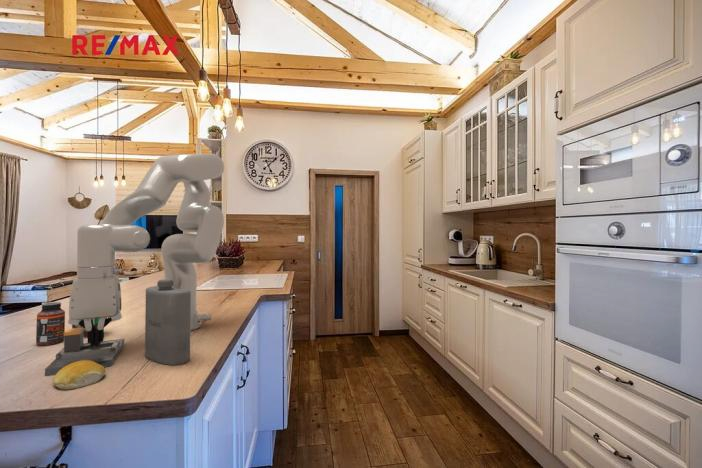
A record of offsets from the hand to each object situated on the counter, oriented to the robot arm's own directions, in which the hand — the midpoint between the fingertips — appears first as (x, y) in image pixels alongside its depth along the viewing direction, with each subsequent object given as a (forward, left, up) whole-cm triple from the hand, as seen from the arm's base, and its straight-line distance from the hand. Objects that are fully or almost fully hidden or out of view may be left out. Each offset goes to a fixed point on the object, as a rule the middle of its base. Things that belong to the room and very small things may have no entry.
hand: (95, 344), depth 81 cm
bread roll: (0, +14, -4) cm, 15 cm away
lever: (+4, 0, -1) cm, 5 cm away
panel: (+1, 0, -3) cm, 3 cm away
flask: (-16, +8, -3) cm, 18 cm away
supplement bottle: (+14, -19, -3) cm, 24 cm away
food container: (+5, -23, -3) cm, 24 cm away
